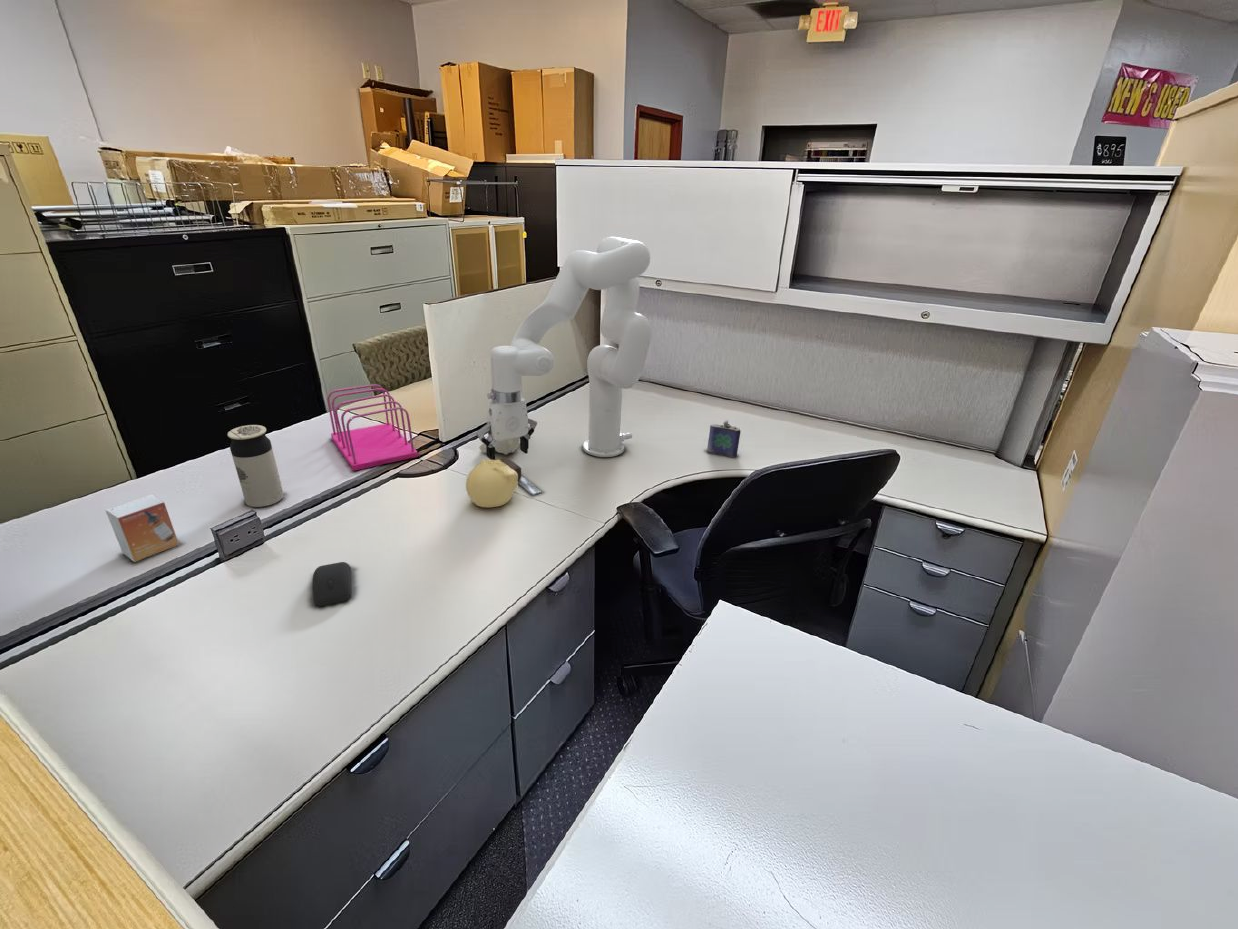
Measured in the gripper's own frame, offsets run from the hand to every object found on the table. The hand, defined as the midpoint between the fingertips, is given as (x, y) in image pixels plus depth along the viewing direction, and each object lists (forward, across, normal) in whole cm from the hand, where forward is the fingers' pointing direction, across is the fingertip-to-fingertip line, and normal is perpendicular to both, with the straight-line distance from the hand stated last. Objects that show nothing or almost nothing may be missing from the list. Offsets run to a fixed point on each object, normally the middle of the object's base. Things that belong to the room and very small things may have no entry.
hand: (508, 455), depth 151 cm
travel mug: (+7, -55, +19) cm, 59 cm away
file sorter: (+6, -25, +35) cm, 44 cm away
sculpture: (+6, -10, -11) cm, 16 cm away
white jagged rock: (+6, +8, +15) cm, 18 cm away
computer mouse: (+7, -50, -24) cm, 56 cm away
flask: (+4, +61, -23) cm, 65 cm away
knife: (+5, +1, -4) cm, 7 cm away
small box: (+8, -77, +9) cm, 78 cm away
